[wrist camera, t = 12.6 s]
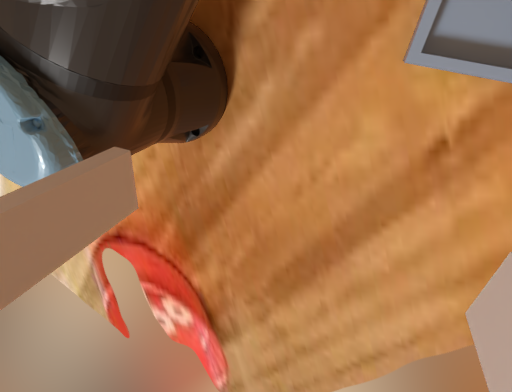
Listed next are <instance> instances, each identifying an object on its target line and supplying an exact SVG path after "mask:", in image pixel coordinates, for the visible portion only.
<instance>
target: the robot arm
mask: <svg viewBox="0 0 512 392" xmlns="http://www.w3.org/2000/svg"><path fill="white" fill-rule="evenodd" d="M198 1H199V0H0V174H2V175H3V176H4V177H6V178H7V179H9V180H11V181H12V182H14V183H16V184H18V185H20V186H22V188H20V189H17V190H15V191H13V192H11V193H8V194H6V195H4V196H2V197H0V310H2V309H3V308H4V307H6V306H7V305H8V304H10V303H11V302H12V301H14V300H15V299H16V298H18V297H19V296H21V295H22V294H23V293H24V292H26V291H27V290H29V289H30V288H31V287H33V286H34V285H35V284H37V283H38V282H39V281H41V280H42V279H43V278H45V277H46V276H47V275H49V274H50V273H52V272H53V271H54V270H56V269H57V268H58V267H60V266H61V265H62V264H64V263H65V262H66V261H68V260H69V259H70V258H72V257H73V256H74V255H76V254H77V253H78V252H80V251H81V250H83V249H84V248H85V247H87V246H88V245H89V244H91V243H92V242H93V241H95V240H96V239H97V238H99V237H100V236H101V235H103V234H104V233H105V232H107V231H108V230H109V229H111V228H112V227H114V226H115V225H116V224H118V223H119V222H120V221H122V220H123V219H124V218H126V217H127V216H128V215H130V214H131V213H132V212H134V211H135V210H136V209H138V202H137V195H136V188H135V181H134V174H133V166H132V159H131V155H133V154H135V153H137V152H139V151H141V150H143V149H145V148H147V147H149V146H151V145H153V144H155V143H185V142H190V141H193V140H196V139H198V138H200V137H201V136H203V135H205V134H207V133H208V132H210V131H211V130H212V129H213V128H214V127H215V126H216V125H217V123H218V122H219V120H220V119H221V117H222V114H223V112H224V109H225V106H226V101H227V78H226V73H225V69H224V65H223V62H222V60H221V57H220V55H219V53H218V51H217V49H216V48H215V46H214V45H213V43H212V42H211V40H210V39H209V38H208V37H207V35H206V34H205V33H204V32H203V31H201V30H200V29H199V28H198V27H197V26H195V25H194V24H192V23H190V22H189V20H190V18H191V15H192V13H193V11H194V9H195V7H196V5H197V3H198ZM465 314H466V317H467V321H468V324H469V327H470V330H471V334H472V337H473V340H474V343H475V347H476V350H477V353H478V356H479V360H480V363H481V366H482V369H483V373H484V376H485V379H486V383H487V386H488V389H489V392H512V252H510V253H509V255H508V256H507V257H506V259H505V260H504V261H503V263H502V264H501V266H500V267H499V268H498V270H497V271H496V272H495V274H494V275H493V276H492V278H491V279H490V280H489V282H488V283H487V284H486V286H485V287H484V288H483V290H482V291H481V292H480V294H479V295H478V297H477V298H476V299H475V301H474V302H473V303H472V305H471V306H470V307H469V309H468V310H467V311H466V313H465Z"/></svg>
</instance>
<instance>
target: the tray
mask: <svg viewBox="0 0 512 392" xmlns="http://www.w3.org/2000/svg"><path fill="white" fill-rule="evenodd" d="M403 61H404V63H409V64H414V65H419V66H425V67H430V68H435V69H440V70H446V71H451V72H456V73H461V74H466V75H472V76H477V77H482V78H487V79H492V80H498V81H503V82H508V83H512V0H426V2H425V5H424V7H423V10H422V12H421V15H420V18H419V20H418V23H417V26H416V28H415V31H414V33H413V36H412V39H411V41H410V44H409V47H408V49H407V52H406V55H405V57H404V60H403Z"/></svg>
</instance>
